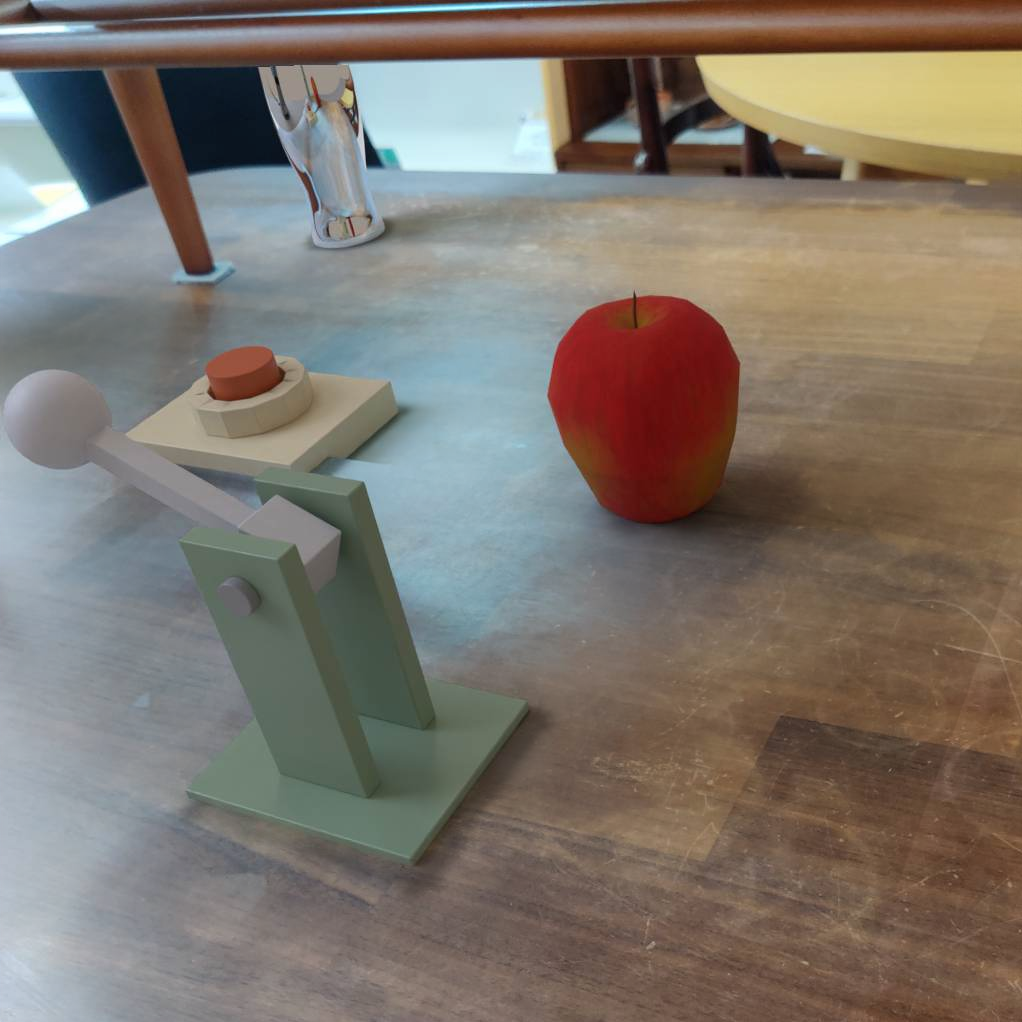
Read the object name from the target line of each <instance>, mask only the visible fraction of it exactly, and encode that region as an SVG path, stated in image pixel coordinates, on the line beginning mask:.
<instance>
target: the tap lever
mask: <svg viewBox="0 0 1022 1022" xmlns="http://www.w3.org/2000/svg"><path fill="white" fill-rule="evenodd" d="M2 410H3V411H2V421H3V422H2V423H3V426H4V431H5V433H6V436H7V437H8V440H9V441H10V443H11V444H12V446H13V447H14V448H15V450H16V451H17V452H18V453H19V454H20V455H21V456H23V457H24V458H26V459H27V460H29V461H30V462H31V463H33V464H36V465H38V466H40V467H42V468H43V467H44V468H45V469H46V468H47V469H50V470H60V471H61V470H72V469H77V468H81V467H83V466H86V465H88V464H89V463H93V464H95V465H97V467H100V468H101V469H104V470H105V471H107V472H109V473H110V474H112V475H113V476H115V477H117V478H118V479H120V480H123V481H124V482H126V483H128V484H130V485H131V486H133V487H134V488H136V489H138V490H140V491H142V493H144V494H146V495H148V496H150V497H152V498H153V499H155V500H157V501H159V502H161V503H162V504H164V505H166V506H167V507H169V508H171V509H173V510H175V511H176V512H178V513H180V515H184V516H185V517H186V518H189V520H192V521H194V522H195V523H197V524H198V525H199V526H204V527H209V528H214V529H219V530H225V531H230V532H235V533H241V534H246V535H251V536H257V537H262V538H267V539H273V540H278V541H283V542H288V543H294V544H296V546H297V549H298V552H299V554H300V557H301V560H302V563H303V565H304V568H305V571H306V574H307V577H308V579H309V582H310V585H311V588H312V590H313V593H314V596H315V595H316V594H317V593H318V592H319V591H320V590H321V589H322V588H323V587H324V586H325V585H326V584H327V583H328V582H329V581H330V580H331V579H332V578H333V577H334V576H335V575H336V569H337V561H338V554H339V546H340V539H341V531H340V530H339V529H337V528H335V527H333V526H331V525H330V524H328V523H326V522H324V521H323V520H321V519H319V518H317V517H316V516H314V515H312V514H310V513H309V512H307V511H305V510H303V509H302V508H300V507H298V506H296V505H295V504H293V503H291V502H289V501H288V500H286V499H284V498H282V497H281V496H279V495H275V496H274V497H273V498H271V499H270V500H269V501H268V502H267V503H266V504H264V505H263V506H262V505H261V506H260V507H259V509H257V510H256V509H255V508H253V507H251V505H248V504H246V503H244V502H242V501H241V500H239V499H237V498H236V497H234V496H232V495H230V494H229V493H228V492H225V491H224V490H222V489H220V488H218V487H217V486H215V485H213V484H211V483H209V482H208V481H206V480H204V479H203V478H201V477H199V476H198V475H196V474H193V473H192V472H190V471H189V470H187V469H185V468H183V467H182V466H180V465H179V464H175V463H173V462H171V461H169V460H168V459H166V458H164V457H162V456H161V455H159V454H157V453H155V452H154V451H152V450H150V449H148V448H147V447H145V446H143V445H141V444H140V443H138V442H136V441H134V440H133V439H131V438H129V437H127V436H126V435H124V434H125V433H122V432H120V431H119V430H117V429H115V428H113V415H112V410H111V408H110V405H109V403H108V401H107V399H106V397H105V396H104V394H103V393H102V392H101V390H100V389H99V388H98V387H97V385H95V384H94V383H92V382H91V381H90V380H88V378H85V377H83V376H82V375H79V374H78V373H75V372H72V371H69V370H63V369H43V370H38V371H36V372H33V373H30V374H28V375H26V376H25V377H22V378H21V379H20V380H19V381H18V382H17V383H16V384H15V385H13V387H12V388H11V390H10V391H9V392H8V395H7V396H6V399H5V402H4V405H3V409H2Z"/></svg>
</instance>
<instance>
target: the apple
mask: <svg viewBox="0 0 1022 1022" xmlns="http://www.w3.org/2000/svg"><path fill="white" fill-rule="evenodd" d="M734 349H735V348H734V347H733V345H732V343H731V341H730V339H729V337H728V335H727V332H726V330H725V328H724V326H722V324H721V323H720V322H718V320H716V318H715V317H714V316H712V315H711V314H710V313H709V312H707V311H706V310H704V309H702V308H701V307H700V306H698V305H696V304H695V303H693V302H692V301H690V300H689V299H685V298H681V297H676V296H671V295H654V294H649V295H648V294H647V295H642V296H637V294H636V292H635V290H633V295H632V297H628V298H623V299H618V300H613V301H608V302H604V303H602V304H598V305H597V306H594V307H592V308H589V309H586V311H585V312H583V313H582V315H580V316H579V317H578V318H577V319H576V320H575V322H574V323H573V324H572V325H571V326H570V328H569V329H568V331H567V332H566V333H565V335H564V336H563V337H562V338H561V340H560V341H559V342H558V344H557V348H556V350H555V353H554V357H553V361H552V367H551V372H550V378H549V383H548V389H547V394H546V397H547V400H548V403H549V405H550V409H551V411H552V415H553V418H554V421H555V424H556V426H557V430H558V432H559V436H560V438H561V442H562V444H563V447H564V449H565V450H566V451H567V453H568V455H569V456H570V457H571V459H572V461H573V462H574V464H575V466H576V468H577V469H578V470H579V473H580V474H581V475H582V477H583V479H584V480H585V482H586V484H587V485H588V487H589V489H590V490H591V492H592V494H593V495H594V497H595V498H596V500H597V502H598V503H599V505H600V506H601V507H603V508H605V509H606V510H608V511H610V512H612V513H614V514H616V515H618V516H620V517H622V518H624V519H626V520H630V521H635V522H639V523H667V522H671V521H675V520H677V519H681V518H686V517H688V516H690V515H691V514H692V513H693V512H697V511H699V510H700V509H701V508H702V507H703V506H704V505H705V504H707V502H708V501H710V500H711V499H712V498H713V496H714V495H715V494H716V492H718V490H719V489H720V487H721V486H722V485H723V482H724V478H725V473H726V470H727V466H728V463H729V459H730V455H731V452H732V447H733V444H734V441H735V436H736V431H737V423H738V417H739V416H738V414H739V394H740V374H741V361H740V359H739V358H738V355H737V353H736V351H735V350H734Z"/></svg>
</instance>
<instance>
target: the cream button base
mask: <svg viewBox="0 0 1022 1022" xmlns="http://www.w3.org/2000/svg"><path fill="white" fill-rule="evenodd" d="M274 357H275V360H276V363H277V366H278V369H279V372H280V375H281V378H282V381H281V383H280V384H278V385H277V386H276V387H274V388H273V389H272V390H271V391H269V392H266V393H263V394H261V395H258V396H256V397H253V398H250V399H244V400H237V401H231V402H229V401H221V400H217V399H216V398H215V395H214V393H213V390H212V387H211V385H210V382H209V380H208V377H207V374H206V373H205V375H203V376H201V377H200V378H199V379H197V380H196V381H194V382H193V383H192V385H191V387H190V388H188V389H186V390H185V391H184V392H183V393H181V394H180V395H179V396H177V397H176V398H174V399H173V400H172V401H170V402H169V403H167V404H165V406H163V407H162V408H160V409H158V410H156V412H154V413H152V414H151V415H150V416H149V417H147V418H145V419H144V420H143V421H142V422H140V423H139V424H138V425H136V426H134V427H133V428H132V429H130V430H129V431H127V432H126V433H123V434H124V435H126V436H127V437H129V438H131V439H133V440H134V441H136V442H138V443H140V444H141V445H143V446H145V447H147V448H148V449H150V450H152V451H154V452H155V453H157V454H159V455H161V456H162V457H164V458H166V459H168V460H169V461H171V462H173V463H175V464H176V465H181V466H188V467H194V468H201V469H205V470H206V469H207V470H211V471H219V472H224V473H231V474H238V475H243V476H249V477H254V478H255V477H256V476H258V475H259V474H260V473H261V472H263V471H264V470H265V469H266V468H267V467H276V468H282V469H288V470H295V471H301V472H307V473H312V471H313V470H314V469H316V468H317V467H318V466H319V465H321V463H322V462H324V461H325V460H326V459H328V457H332V458H337V459H343V460H344V459H345V460H346V459H347V458H348V457H349V456H350V455H352V454H353V453H354V452H355V451H356V450H357V449H358V448H359V447H361V446H362V445H363V444H364V443H365V442H366V441H368V440H369V439H370V438H371V437H372V436H373V435H375V434H376V433H377V432H378V431H379V430H380V429H381V428H382V427H384V426H385V425H386V424H387V423H388V422H390V420H392V419H393V418H394V417H395V416H397V414H398V413H399V409H398V404H397V400H396V397H395V392H394V390H393V386H392V383H391V381H390V380H382V379H374V378H365V377H357V376H350V375H349V376H348V375H340V374H331V373H323V372H315V371H308V369H307V367H306V366H305V365H304V364H303V363H302V362H300V361H299V360H298V359H297V358H296V357H293V356H285V355H284V356H283V355H277V354H276V355H275V354H274Z"/></svg>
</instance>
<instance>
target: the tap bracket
mask: <svg viewBox="0 0 1022 1022" xmlns="http://www.w3.org/2000/svg"><path fill="white" fill-rule="evenodd" d="M252 481H253V485H254V487H255V489H256V493H257V496H258V498H259V501H260V504H261V507H262V506H263V505H264V504H266V503H267V502H268V501H269V500H270V499H271V498H273V497H274V496H275V495H279V496H281V497H282V498H284V499H286V500H288V501H289V502H291V503H293V504H295V505H296V506H298V507H300V508H302V509H303V510H305V511H307V512H309V513H310V514H312V515H314V516H316V517H317V518H319V519H321V520H323V521H324V522H326V523H328V524H330V525H331V526H333V527H335V528H337V529H339V530H340V531H341V539H340V546H339V554H338V561H337V569H336V575H335V576H334V577H333V578H332V579H331V580H330V581H329V582H328V583H327V584H326V585H325V586H324V587H323V588H322V589H321V590H320V591H319V592H318V593H317V594H316V595H315V596H314V593H313V590H312V588H311V585H310V582H309V579H308V577H307V574H306V571H305V568H304V565H303V563H302V560H301V557H300V554H299V552H298V549H297V546H296V544H294V543H288V542H283V541H278V540H273V539H267V538H262V537H257V536H251V535H246V534H241V533H235V532H230V531H225V530H219V529H214V528H209V527H204V526H202V525H195V526H194V527H193V528H191V529H190V530H189V531H188V532H187V533H186V534H184V535H183V536H182V537H181V538H179V540H178V544H179V545H180V548H181V550H182V553H183V555H184V557H185V560H186V561H187V565H188V566H189V568H190V570H191V573H192V575H193V578H194V580H195V582H196V584H197V587H198V589H199V591H200V594H201V596H202V598H203V601H204V603H205V605H206V607H207V610H208V612H209V614H210V616H211V619H212V621H213V623H214V626H215V628H216V630H217V632H218V635H219V637H220V639H221V641H222V644H223V647H224V649H225V651H226V653H227V656H228V658H229V660H230V662H231V665H232V667H233V669H234V672H235V674H236V677H237V679H238V682H239V683H240V686H241V688H242V691H243V692H244V695H245V697H246V700H247V701H248V704H249V706H250V708H251V711H252V713H253V716H254V718H253V719H252V720H251V721H250V722H249V723H248V724H247V725H246V726H245V727H244V728H243V730H242V731H240V733H238V735H237V736H236V737H235V738H233V740H232V741H231V742H230V743H229V744H228V745H226V747H225V748H224V749H223V750H222V751H221V752H220V753H219V754H218V755H217V756H216V757H215V759H213V760H212V761H211V762H210V764H208V765H207V767H206V768H204V770H203V771H202V772H201V773H200V774H198V776H197V777H196V778H195V779H194V780H193V781H192V782H191V783H190V784H189V785H188V786H187V788H186V789H185V793H186V795H187V797H188V798H189V799H192V800H195V801H198V802H202V803H205V804H207V805H211V806H215V807H218V808H222V809H225V810H227V811H231V812H235V813H237V814H241V815H244V816H247V817H250V818H254V819H258V820H261V821H264V822H267V823H270V824H273V825H276V826H280V827H283V828H287V829H290V830H293V831H296V832H298V833H299V832H300V833H303V834H306V835H310V836H312V837H316V838H319V839H323V840H326V841H328V842H332V843H334V844H339V845H341V846H345V847H348V848H352V849H355V850H358V851H361V852H365V853H368V854H371V855H374V856H378V857H381V858H384V859H387V860H390V861H394V862H397V863H399V864H403V865H407V866H410V867H414V866H415V865H416V864H417V862H418V861H419V860H420V859H421V857H422V856H423V855H424V854H425V852H426V850H427V849H428V848H429V846H430V845H431V844H432V842H433V841H434V839H435V838H436V837H437V836H438V834H439V833H440V832H441V830H442V829H443V827H444V826H445V825H446V823H447V822H448V820H449V819H450V817H451V816H452V815H453V814H454V812H455V811H456V810H457V808H458V807H459V806H460V804H461V803H462V801H463V800H464V799H465V797H466V796H467V794H468V793H469V792H470V791H471V789H472V788H473V787H474V785H475V784H476V783H477V781H479V778H480V777H481V776H482V774H483V773H484V772H485V770H486V769H487V767H488V766H489V765H490V764H491V762H492V761H493V760H494V758H495V757H496V755H497V754H498V752H499V751H500V750H501V749H502V747H503V746H504V745H505V743H506V742H507V741H508V739H509V738H510V736H511V735H512V734H513V732H514V731H515V729H516V728H517V727H518V726H519V724H520V723H521V721H522V720H523V718H524V717H525V716H526V715H527V713H528V712H529V711H530V703H529V702H528V700H525V699H521V698H517V697H513V696H508V695H503V694H500V693H496V692H490V691H487V690H482V689H478V688H473V687H469V686H464V685H462V684H456V683H452V682H447V681H442V680H439V679H435V678H430V677H425V676H424V672H423V669H422V666H421V663H420V659H419V655H418V653H417V649H416V646H415V643H414V639H413V636H412V633H411V630H410V626H409V623H408V620H407V617H406V614H405V611H404V607H403V603H402V600H401V597H400V593H399V590H398V587H397V584H396V581H395V577H394V574H393V572H392V568H391V563H390V561H389V559H388V555H387V551H386V548H385V545H384V542H383V539H382V536H381V531H380V529H379V525H378V522H377V518H376V516H375V513H374V509H373V505H372V502H371V498H370V496H369V493H368V490H367V486H366V483H365V482H364V481H363V480H357V479H352V478H345V477H339V476H332V475H327V474H321V473H313V472H310V473H307V472H301V471H295V470H288V469H282V468H276V467H267V468H266V469H265V470H264V471H263V472H261V473H260V474H259V475H258V476H256V477H255V476H254V478H253V479H252Z"/></svg>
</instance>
